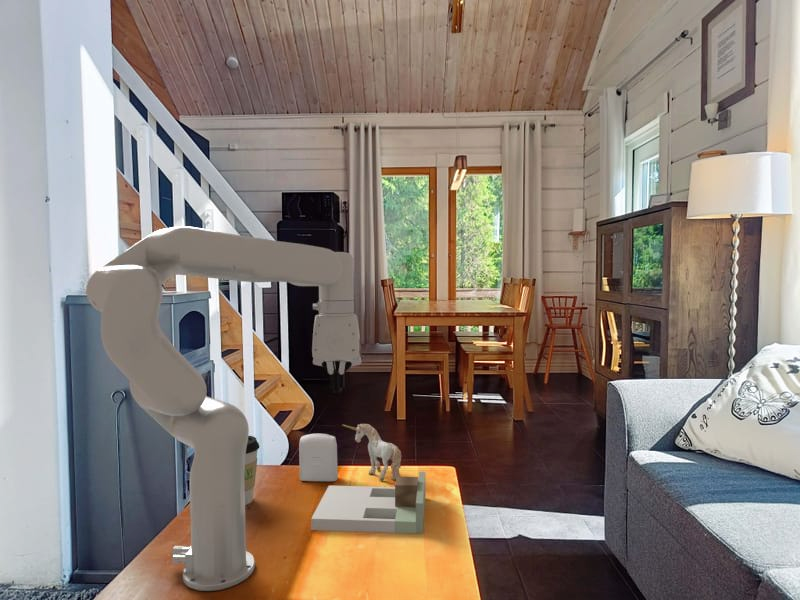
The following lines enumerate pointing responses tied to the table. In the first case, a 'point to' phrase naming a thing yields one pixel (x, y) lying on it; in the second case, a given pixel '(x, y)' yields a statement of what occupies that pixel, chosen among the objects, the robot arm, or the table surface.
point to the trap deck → (369, 510)
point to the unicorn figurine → (379, 451)
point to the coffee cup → (250, 468)
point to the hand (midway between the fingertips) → (337, 391)
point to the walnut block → (406, 491)
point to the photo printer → (318, 458)
